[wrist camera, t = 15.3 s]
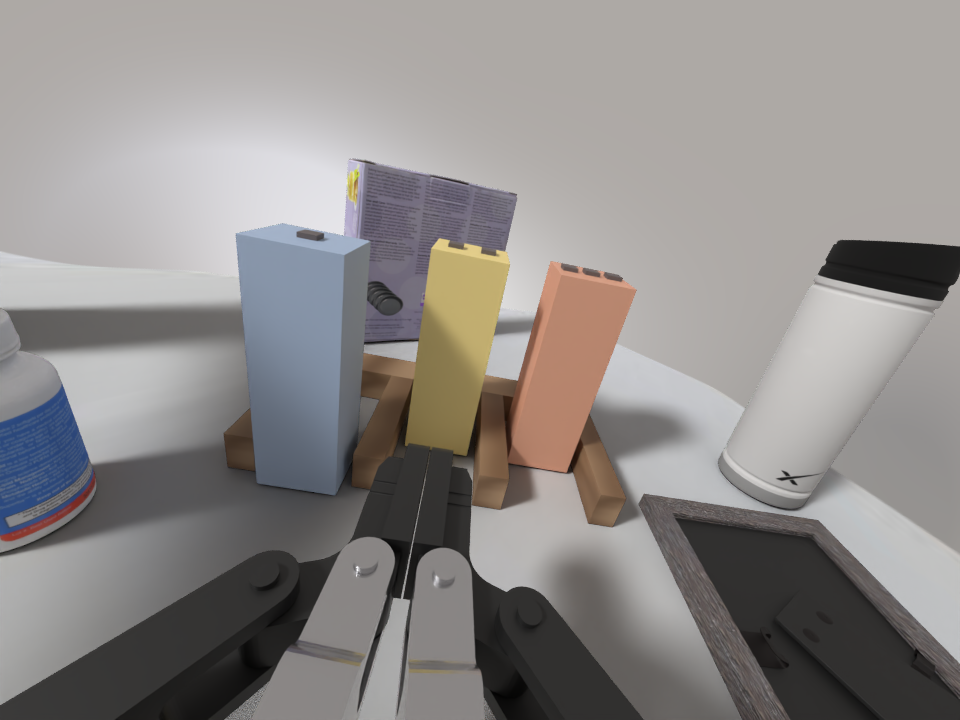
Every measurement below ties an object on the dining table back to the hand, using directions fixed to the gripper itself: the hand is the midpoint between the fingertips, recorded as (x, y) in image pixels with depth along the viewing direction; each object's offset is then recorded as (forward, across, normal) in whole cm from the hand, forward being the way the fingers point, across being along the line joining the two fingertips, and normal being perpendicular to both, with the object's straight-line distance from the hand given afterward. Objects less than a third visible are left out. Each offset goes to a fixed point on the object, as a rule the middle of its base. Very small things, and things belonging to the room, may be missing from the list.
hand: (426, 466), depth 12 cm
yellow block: (+14, 0, +10) cm, 17 cm away
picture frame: (+1, -22, +10) cm, 24 cm away
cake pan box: (+34, +4, +10) cm, 35 cm away
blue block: (+8, +7, +10) cm, 15 cm away
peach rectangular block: (+14, -8, +10) cm, 18 cm away
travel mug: (+14, -27, +9) cm, 32 cm away
